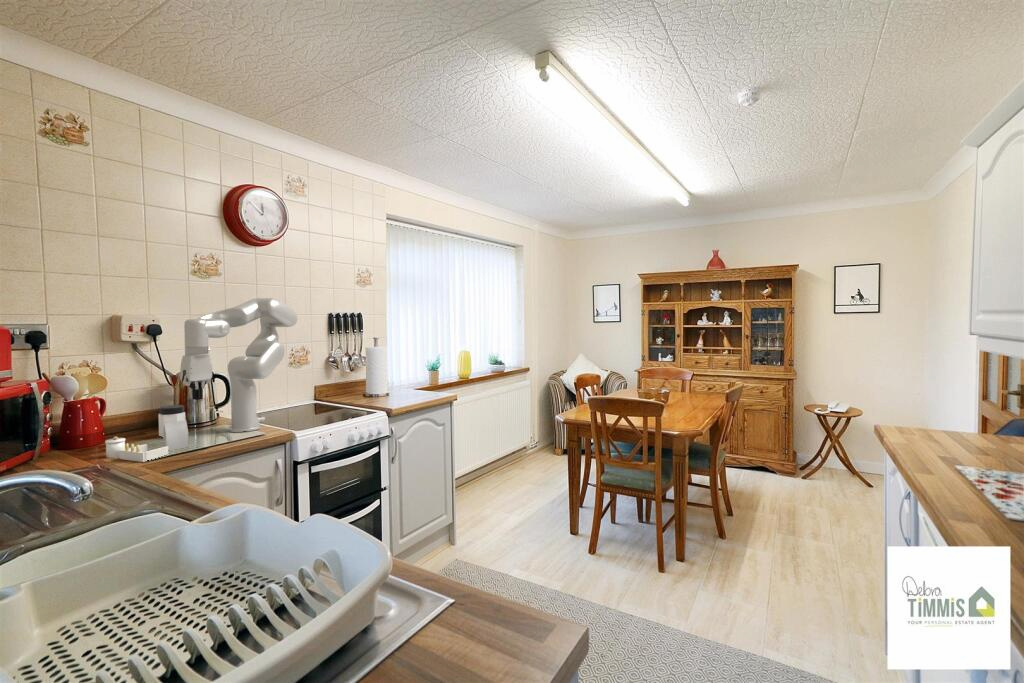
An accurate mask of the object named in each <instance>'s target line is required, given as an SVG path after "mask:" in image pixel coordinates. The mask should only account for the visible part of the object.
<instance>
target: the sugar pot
mask: <svg viewBox="0 0 1024 683" xmlns="http://www.w3.org/2000/svg"><path fill="white" fill-rule="evenodd" d="M104 443H105V455H106V458H108V459H114V458H115V459H116V458H119V450H123V449H126V446H125V444H126V438H125V437H118V436H113V438H109V439H106V440H104Z"/></svg>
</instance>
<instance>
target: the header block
mask: <svg viewBox="0 0 1024 683" xmlns="http://www.w3.org/2000/svg"><path fill="white" fill-rule="evenodd" d="M129 446H130V447H129ZM167 454H169V451H168V447H167V446H166V447H163V446H162V447H159V448H155V449H150V450H148V444H147V443H145V444H136V445H135V443H131V444H130V445H129V443H128V442H127V443H126V442H125V449H123V450H119V457H118V458H119V460H125V461H133V462H139V463H145V462H148V461H147V460H149V461H152V460H155V458H156V459H159V458H158V457H160V458H162V457H161V456H163V457H165V456H164V455H167ZM167 456H168V455H167ZM151 459H152V460H151Z"/></svg>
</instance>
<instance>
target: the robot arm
mask: <svg viewBox="0 0 1024 683" xmlns="http://www.w3.org/2000/svg"><path fill="white" fill-rule="evenodd" d="M258 319H259V323H260V332H259V334H258V335H257V336H256V337H255V338H254V339H253V341H251V343H250V344H249V345H248V346H247V347H246V350H245V352H244V353H245V354H244V355H245V356H244V355H243V356H242V355H241V356H236V357H233V358H231V359H230V361H229V362H228V363H227V373H228V378H229V381H230V382H229V383H230V406H231V407H230V408H231V409H230V411H231V412H230V413H231V414H230V415H231V416H230V417H231V426H228V427H227V429H226V430H228V431H227V432H229V431H230V432H229V433H244V432H243V431H247V432H252V431H253V432H254V431H257V430H260V429H261V427H262V426H261V424H260V422H264V421H266V417H265V416H261V417H259V416H257V415H258V413H257V410H258V409H257V386H256V382H255V381H254V380H262V379H266V378H268V377H269V376H270V375H271V373H273V371H274V370H275V369H276V368H277V367H278V366H279V364H280V363H281V361H282V360H283V358H284V355H285V346H284V345H283V344H282V342H280V340H279V339H280V336H279V334H278V332H277V331H278V330H277V328H289V327H290V328H291V327H293V326H295V325H296V324H297V321H298V315H297V313H296V311H295V310H294V309H292V308H291V307H290V306H288V305H286V304H285V303H283V302H281V301H280V300H278V299H276V298H271V297H269V298H268V297H262V298H261V297H257V298H252V299H249V300H248V301H246V302H243V303H240V304H238V305H235V306H233V307H229V308H225V309H221V310H218V311H215V312H210V313H207V314H205V315H202V316H200V317H197V318H194V319H193V318H192V319H191V318H189V319H186V320H185V321H184V322H183V323H184V325H183V326H184V327H183V328H184V329H183V330H184V355H182V358H181V361H180V368H179V369H180V372H179V379H180V381H181V382H182V385H183V386H186V387H187V386H188V387H189V388H190V390H191V392H192V393H191V394H192V396H191V398H192V400H198V401H199V400H200V401H201V400H203V399H204V398H203V397H204V395H203V394H204V393H203V392H204V389H205V386H206V385H207V384H209V383H211V382H212V378H213V364H212V359H211V354H209V352H210V351H211V348H210V347H209V338H211V339H221V338H224V337H226V336H228V334H229V333H230V331H231V328H238V327H243V326H245V325H247V324H249V323H252V322H254V321H256V320H258Z"/></svg>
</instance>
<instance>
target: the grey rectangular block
mask: <svg viewBox="0 0 1024 683" xmlns="http://www.w3.org/2000/svg"><path fill="white" fill-rule="evenodd" d="M162 440H163V442H162V443H163V444H162V447H166V446H167V447H168V450H173V451H175V450H174V449H179V450H181V449H180V448H185V447H190V446H189V444H190V443H189V429H188V422H187V419H185V420H184V421H177V422H170V423H164V431H163V438H162ZM185 449H186V448H185Z"/></svg>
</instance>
